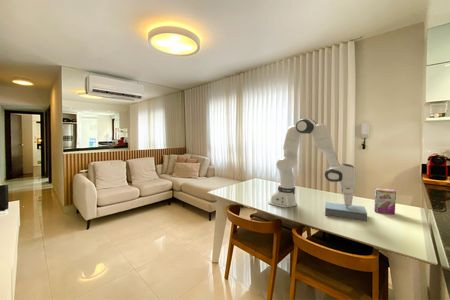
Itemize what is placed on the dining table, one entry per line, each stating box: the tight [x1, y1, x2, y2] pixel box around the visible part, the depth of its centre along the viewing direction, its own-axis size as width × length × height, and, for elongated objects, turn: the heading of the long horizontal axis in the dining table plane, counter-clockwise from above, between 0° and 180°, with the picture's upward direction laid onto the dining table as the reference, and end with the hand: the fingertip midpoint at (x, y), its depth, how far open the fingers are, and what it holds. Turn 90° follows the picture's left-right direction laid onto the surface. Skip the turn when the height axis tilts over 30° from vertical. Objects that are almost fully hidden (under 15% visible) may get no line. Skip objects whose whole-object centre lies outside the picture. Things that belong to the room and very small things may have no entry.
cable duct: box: [324, 208, 368, 223], centre depth 139 cm, size 24×12×4 cm, turn 62°
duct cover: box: [324, 201, 368, 215], centre depth 140 cm, size 24×13×1 cm, turn 62°
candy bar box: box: [373, 187, 397, 215], centre depth 141 cm, size 11×5×16 cm, turn 59°
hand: (346, 207), depth 137 cm, fingers closed
